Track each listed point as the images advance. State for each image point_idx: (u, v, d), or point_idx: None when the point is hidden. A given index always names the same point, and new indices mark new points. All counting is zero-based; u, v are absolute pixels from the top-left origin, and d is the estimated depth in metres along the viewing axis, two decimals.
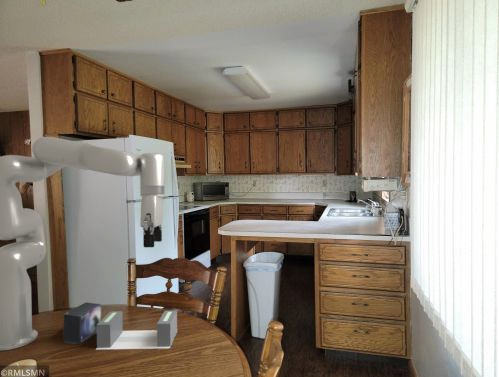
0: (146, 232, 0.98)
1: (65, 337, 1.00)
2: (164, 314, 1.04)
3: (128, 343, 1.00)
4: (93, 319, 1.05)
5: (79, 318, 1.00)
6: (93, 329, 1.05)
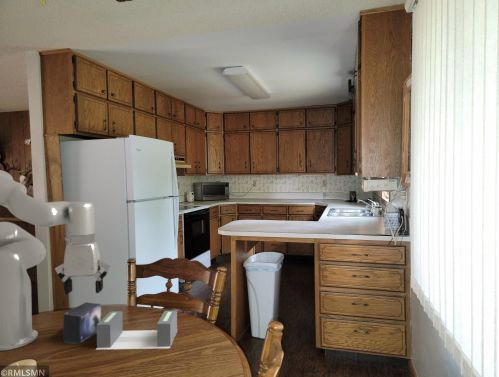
0: (103, 277, 1.05)
1: (65, 337, 1.00)
2: (164, 314, 1.04)
3: (128, 343, 1.00)
4: (93, 319, 1.05)
5: (79, 318, 1.00)
6: (93, 329, 1.05)
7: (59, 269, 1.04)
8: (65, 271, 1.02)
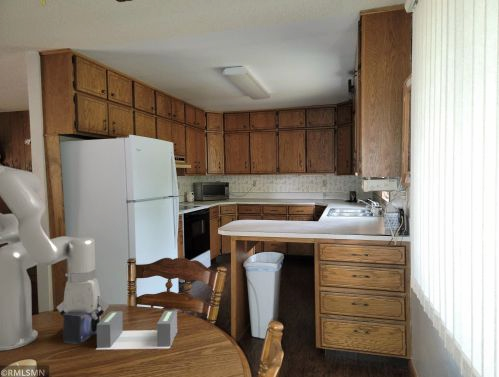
0: (100, 315, 1.05)
1: (65, 337, 1.00)
2: (164, 314, 1.04)
3: (128, 343, 1.00)
4: None
5: (79, 317, 1.00)
6: None
7: (61, 307, 1.04)
8: (65, 308, 1.02)
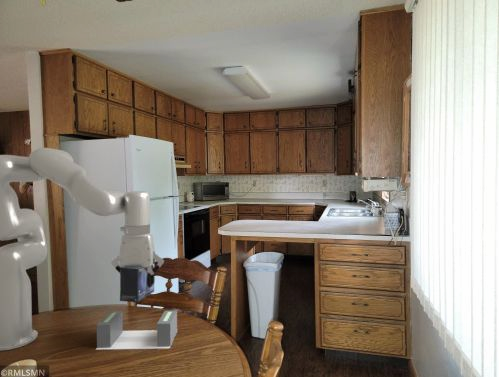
0: None
1: (122, 291, 0.98)
2: (164, 314, 1.04)
3: (128, 343, 1.00)
4: None
5: (138, 270, 0.97)
6: None
7: (115, 262, 1.01)
8: (121, 262, 0.99)
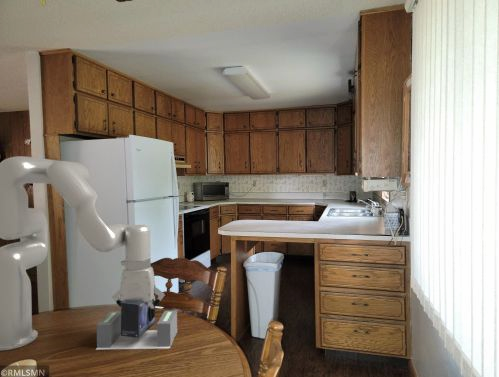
0: (156, 304, 1.02)
1: (123, 326, 0.98)
2: (164, 314, 1.04)
3: (128, 343, 1.00)
4: None
5: (138, 306, 0.97)
6: None
7: (116, 296, 1.02)
8: (121, 297, 0.99)
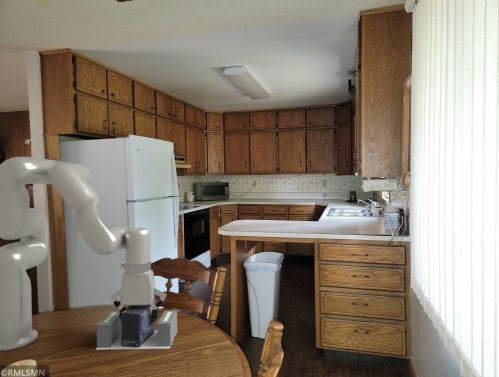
0: (159, 305, 1.02)
1: (123, 336, 0.98)
2: (164, 314, 1.04)
3: None
4: (149, 317, 1.03)
5: (139, 315, 0.97)
6: (149, 327, 1.03)
7: (114, 297, 1.02)
8: (122, 300, 1.00)
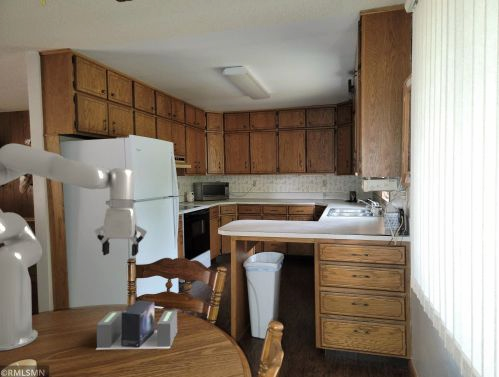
0: (139, 241, 1.09)
1: (123, 336, 0.98)
2: (164, 314, 1.04)
3: None
4: (149, 317, 1.03)
5: (139, 315, 0.97)
6: (149, 327, 1.03)
7: (98, 231, 1.09)
8: (104, 233, 1.07)
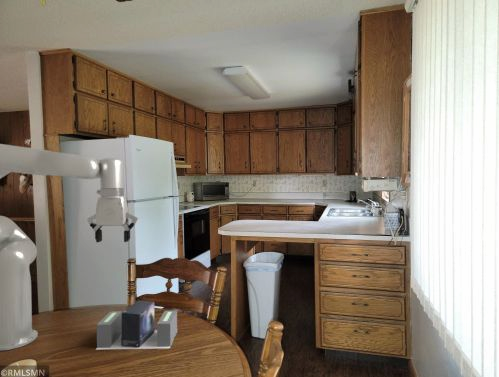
0: (131, 227, 1.15)
1: (123, 336, 0.98)
2: (164, 314, 1.04)
3: None
4: (149, 317, 1.03)
5: (139, 315, 0.97)
6: (149, 327, 1.03)
7: (91, 219, 1.14)
8: (97, 221, 1.12)
